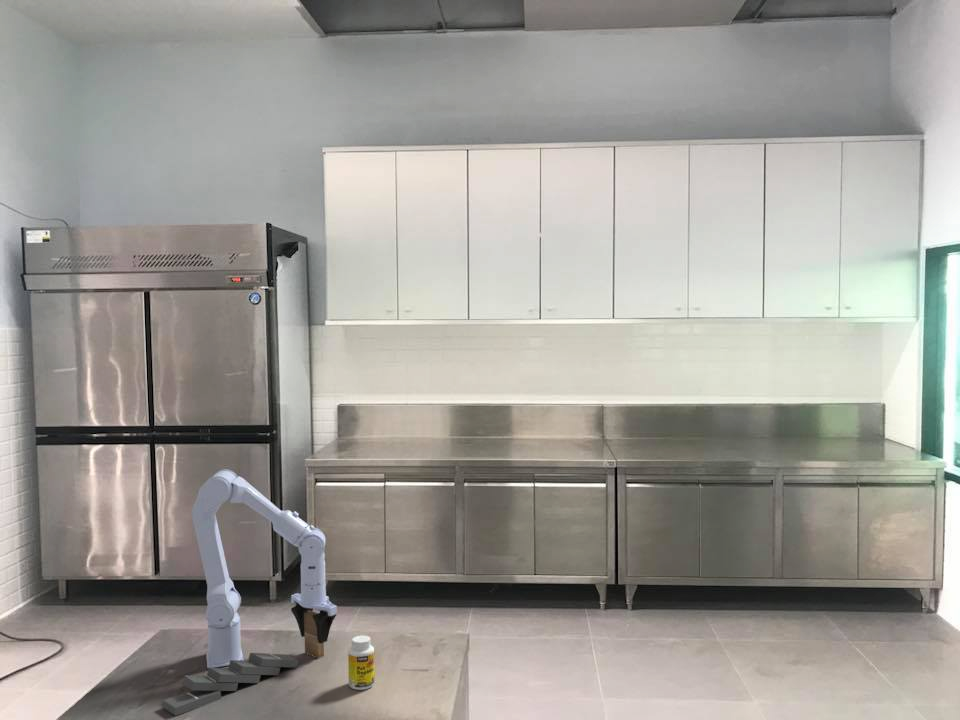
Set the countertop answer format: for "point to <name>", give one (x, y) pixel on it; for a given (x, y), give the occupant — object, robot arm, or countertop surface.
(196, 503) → the robot arm
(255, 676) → the domino
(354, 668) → the supplement bottle
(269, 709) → the countertop surface
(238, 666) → the domino
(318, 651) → the walnut domino
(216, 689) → the domino
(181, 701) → the domino
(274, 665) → the domino
